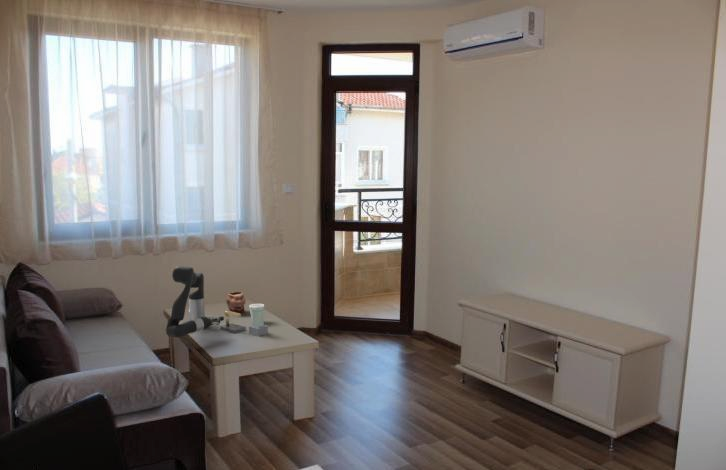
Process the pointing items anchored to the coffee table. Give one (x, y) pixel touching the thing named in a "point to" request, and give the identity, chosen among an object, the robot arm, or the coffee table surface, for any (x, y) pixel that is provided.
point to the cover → (258, 318)
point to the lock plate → (233, 328)
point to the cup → (254, 306)
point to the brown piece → (231, 315)
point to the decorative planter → (236, 302)
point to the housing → (258, 330)
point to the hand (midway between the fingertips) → (222, 318)
